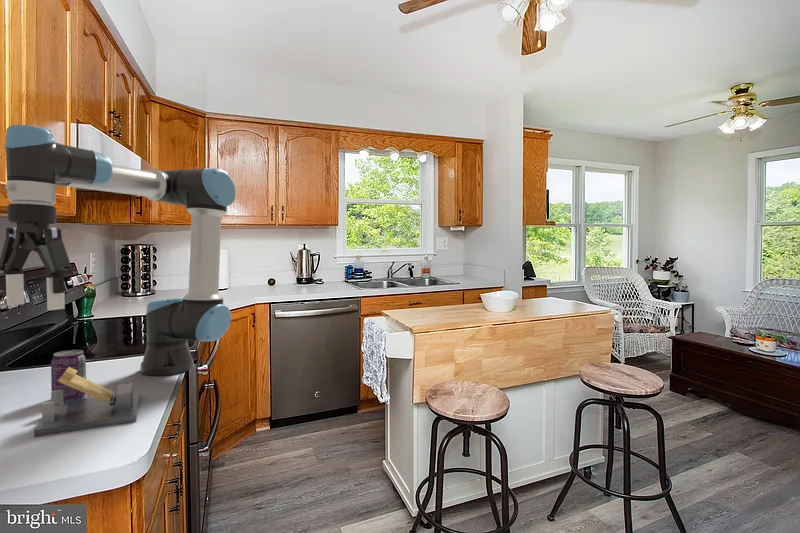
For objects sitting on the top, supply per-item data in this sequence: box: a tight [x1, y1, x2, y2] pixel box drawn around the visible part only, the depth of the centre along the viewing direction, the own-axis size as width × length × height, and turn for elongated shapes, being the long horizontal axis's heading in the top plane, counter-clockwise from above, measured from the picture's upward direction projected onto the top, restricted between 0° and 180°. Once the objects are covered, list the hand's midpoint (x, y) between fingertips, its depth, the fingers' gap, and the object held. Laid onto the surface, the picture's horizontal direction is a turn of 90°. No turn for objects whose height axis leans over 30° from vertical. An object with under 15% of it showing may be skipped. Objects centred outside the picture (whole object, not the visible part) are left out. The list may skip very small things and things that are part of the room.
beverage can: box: [50, 349, 87, 401], centre depth 110 cm, size 7×7×12 cm
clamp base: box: [33, 382, 141, 438], centre depth 100 cm, size 18×18×6 cm
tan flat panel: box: [58, 367, 117, 406], centre depth 99 cm, size 7×13×2 cm
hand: (35, 307), depth 87 cm, fingers open, 13 cm apart
